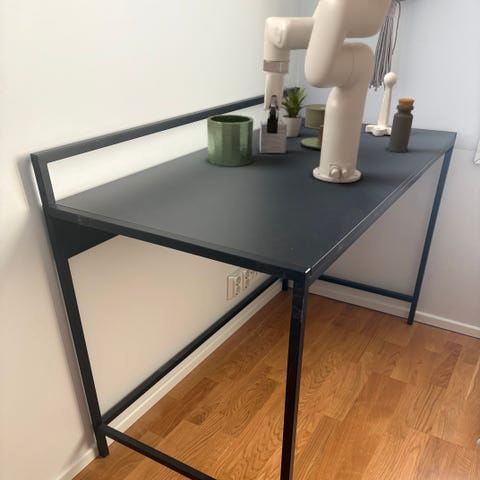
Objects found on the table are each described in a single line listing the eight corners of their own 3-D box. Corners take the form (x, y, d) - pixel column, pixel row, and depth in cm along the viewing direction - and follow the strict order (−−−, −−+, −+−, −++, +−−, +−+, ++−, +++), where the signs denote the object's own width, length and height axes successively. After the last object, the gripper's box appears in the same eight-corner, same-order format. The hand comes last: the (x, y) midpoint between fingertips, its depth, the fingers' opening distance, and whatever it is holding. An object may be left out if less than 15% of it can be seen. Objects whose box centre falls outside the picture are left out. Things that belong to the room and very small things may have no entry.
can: (322, 122, 194) (324, 103, 190) (342, 127, 185) (344, 108, 181) (297, 124, 189) (299, 105, 185) (316, 130, 180) (318, 110, 176)
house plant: (284, 128, 182) (287, 80, 174) (317, 133, 176) (322, 83, 167) (264, 135, 172) (266, 84, 164) (298, 140, 166) (302, 88, 157)
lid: (349, 144, 162) (351, 124, 159) (333, 153, 152) (336, 132, 149) (311, 139, 168) (312, 120, 165) (293, 147, 158) (295, 127, 155)
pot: (259, 158, 145) (261, 117, 139) (237, 168, 136) (238, 125, 130) (223, 152, 151) (223, 113, 145) (199, 162, 142) (198, 119, 135)
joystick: (398, 134, 176) (409, 73, 166) (390, 138, 171) (402, 74, 160) (369, 130, 182) (378, 70, 171) (361, 133, 176) (370, 72, 166)
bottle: (404, 148, 159) (414, 98, 151) (408, 152, 154) (418, 101, 146) (386, 147, 160) (395, 97, 152) (389, 152, 155) (398, 100, 147)
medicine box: (284, 150, 155) (285, 121, 150) (285, 153, 151) (287, 124, 146) (259, 149, 155) (260, 120, 150) (260, 153, 151) (261, 123, 146)
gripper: (264, 63, 148) (261, 123, 157) (261, 70, 133) (258, 135, 143) (289, 64, 147) (284, 124, 157) (289, 71, 133) (284, 137, 142)
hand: (272, 129), depth 150 cm, fingers open, 9 cm apart
